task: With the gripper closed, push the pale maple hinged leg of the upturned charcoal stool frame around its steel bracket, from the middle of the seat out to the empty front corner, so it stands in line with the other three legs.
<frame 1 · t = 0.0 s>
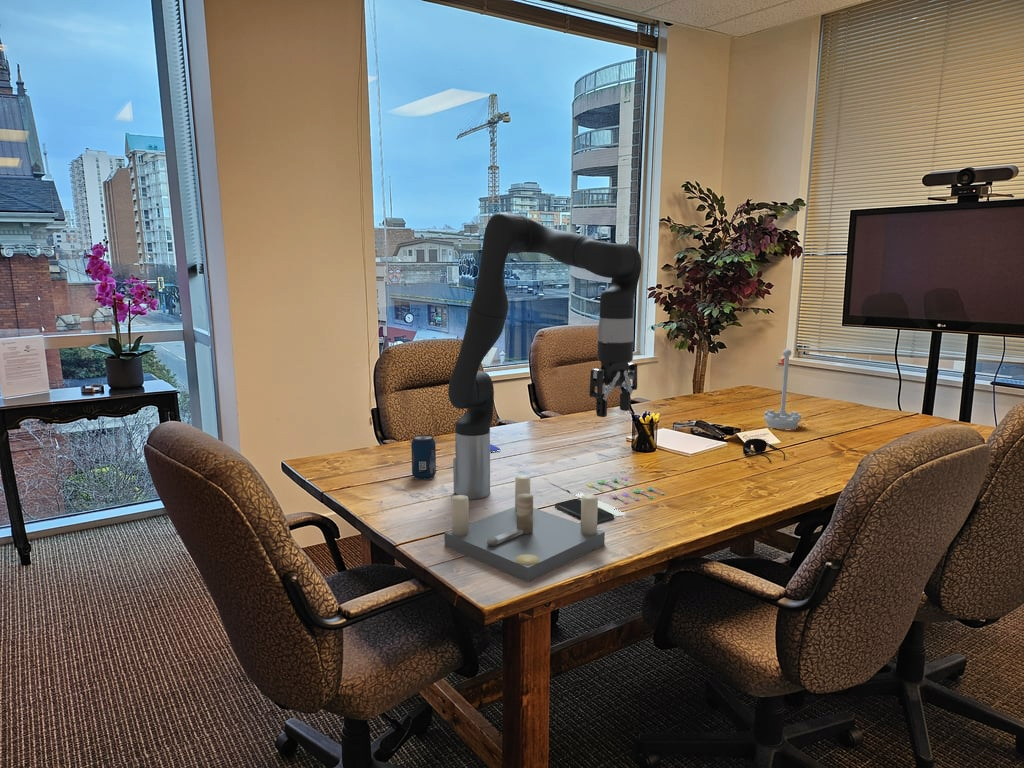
hand: (613, 413, 147), 29 cm above the table, tool pointing down, fingers open, 8 cm apart
phone: (583, 514, 169), on the table
stool frame: (524, 545, 149), on the table
soda can: (424, 477, 197), on the table
flag stand: (781, 427, 259), on the table
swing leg: (510, 519, 145), point 7 cm above the table, hinge at 90.0°
hard drive: (478, 453, 224), on the table
sunglasses: (764, 458, 218), on the table
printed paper: (624, 491, 187), on the table
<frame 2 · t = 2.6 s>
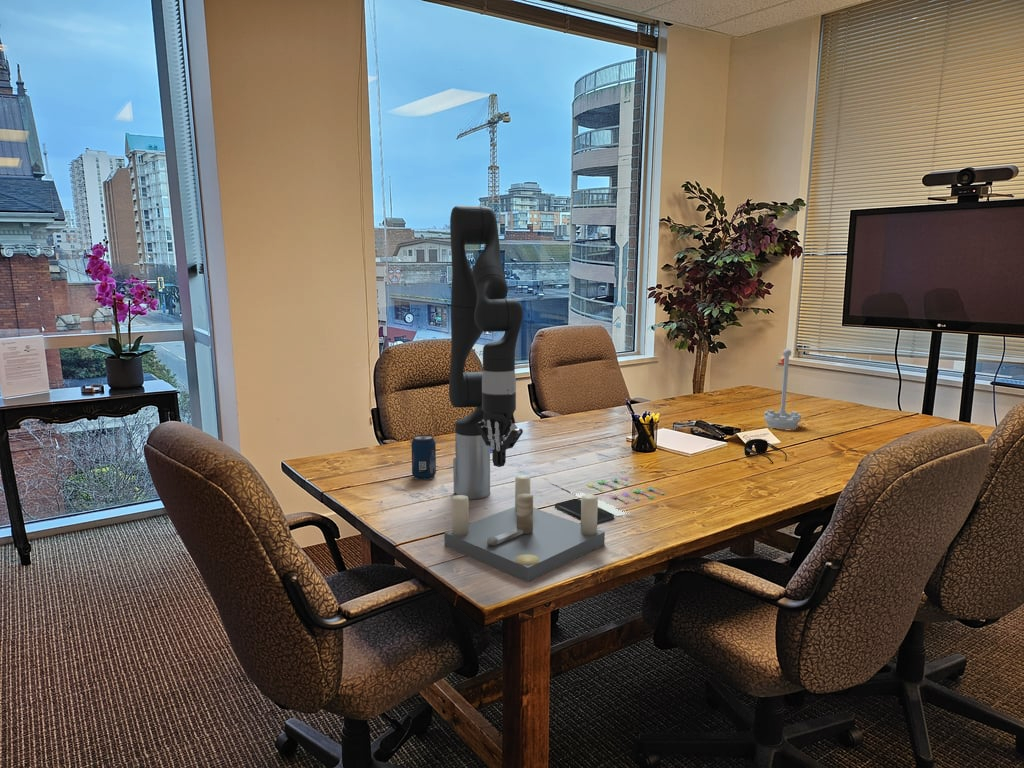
hand: (499, 465, 152), 16 cm above the table, tool pointing down, fingers closed
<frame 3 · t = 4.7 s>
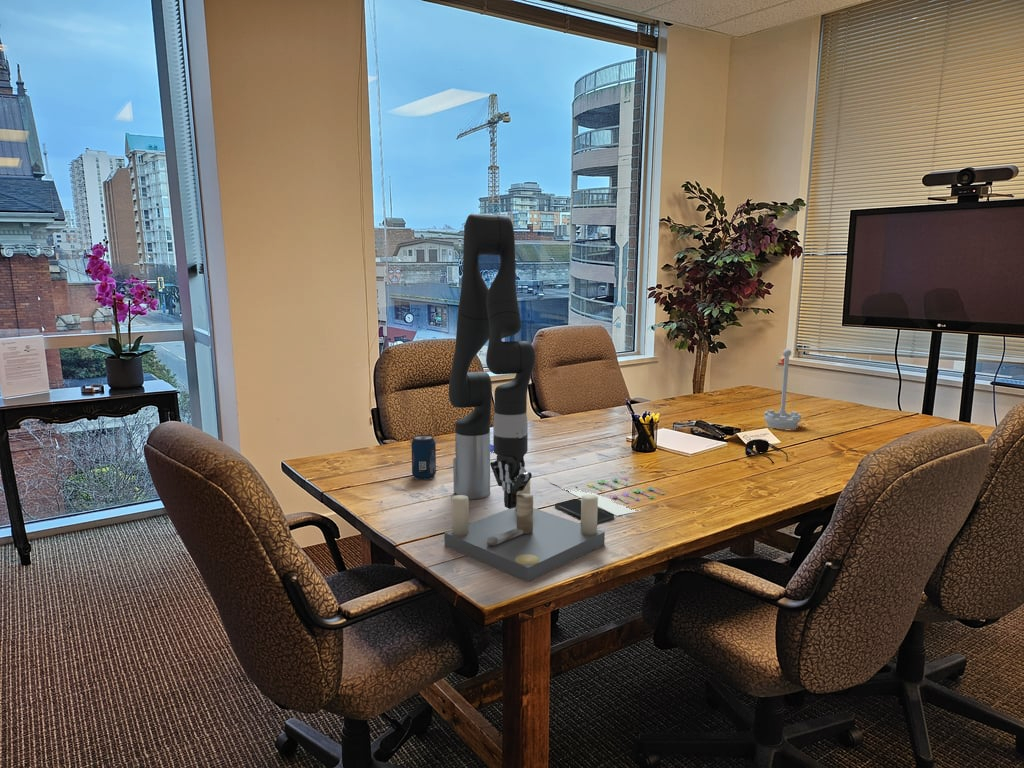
hand: (510, 507, 151), 8 cm above the table, tool pointing down, fingers closed
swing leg: (510, 519, 145), point 7 cm above the table, hinge at 90.0°, touching gripper
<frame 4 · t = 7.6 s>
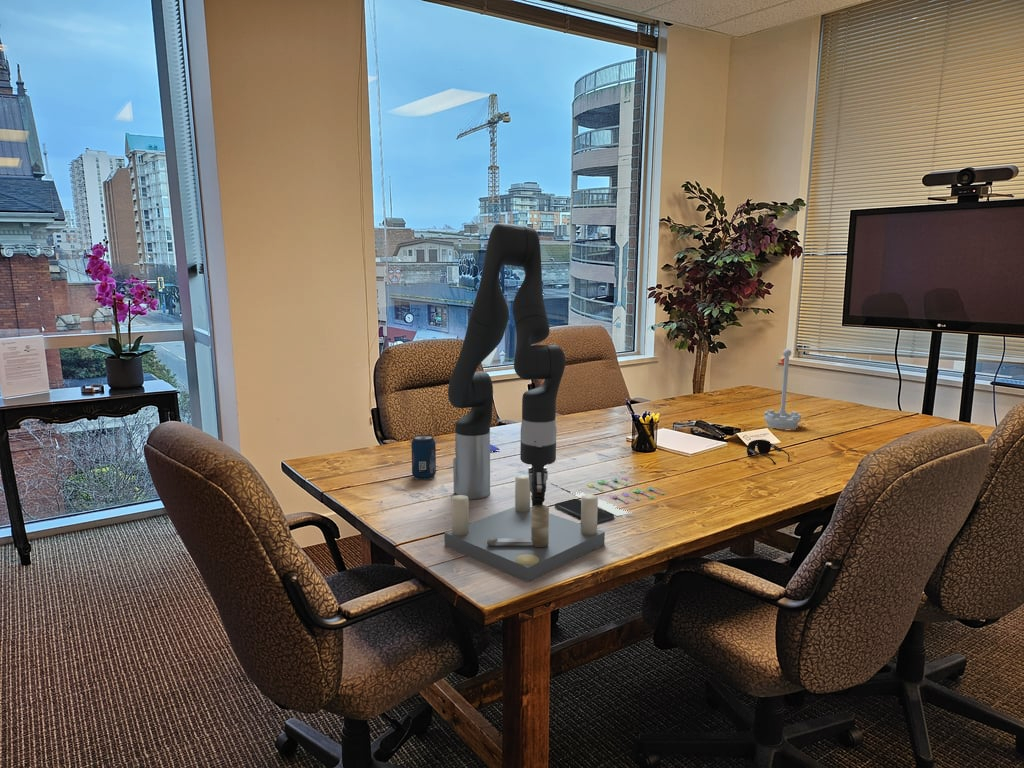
hand: (537, 516, 146), 8 cm above the table, tool pointing down, fingers closed
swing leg: (517, 525, 141), point 7 cm above the table, hinge at 44.9°, touching gripper
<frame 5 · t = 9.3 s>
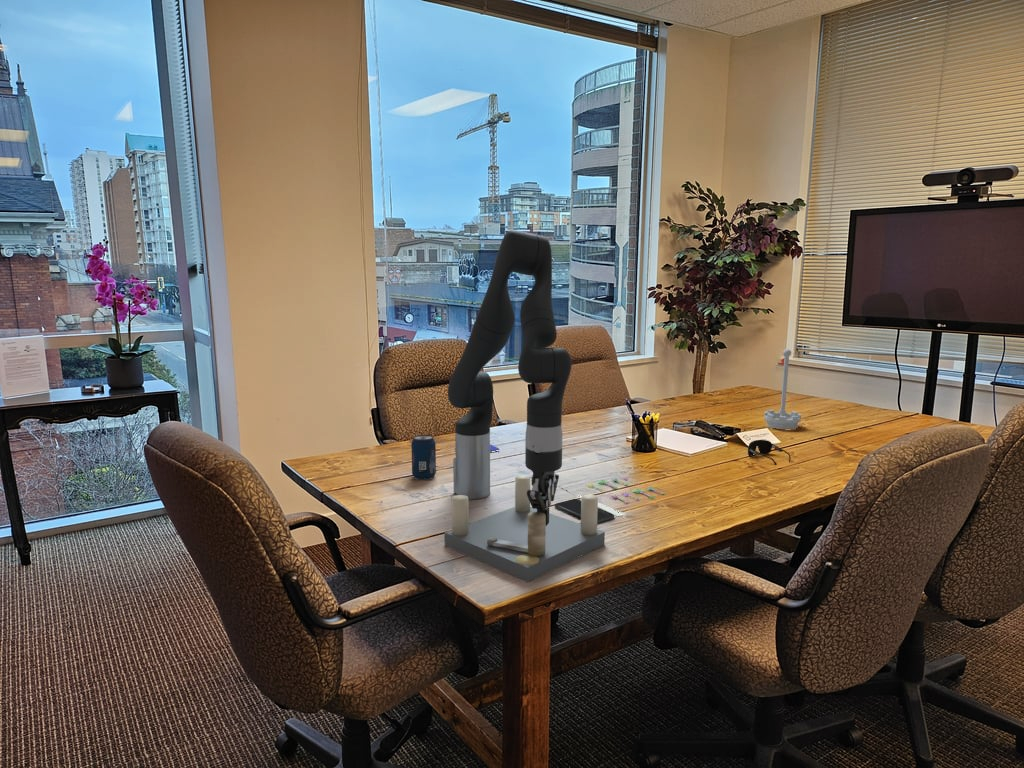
hand: (542, 524, 141), 8 cm above the table, tool pointing down, fingers closed
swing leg: (515, 530, 139), point 7 cm above the table, hinge at 19.9°, touching gripper
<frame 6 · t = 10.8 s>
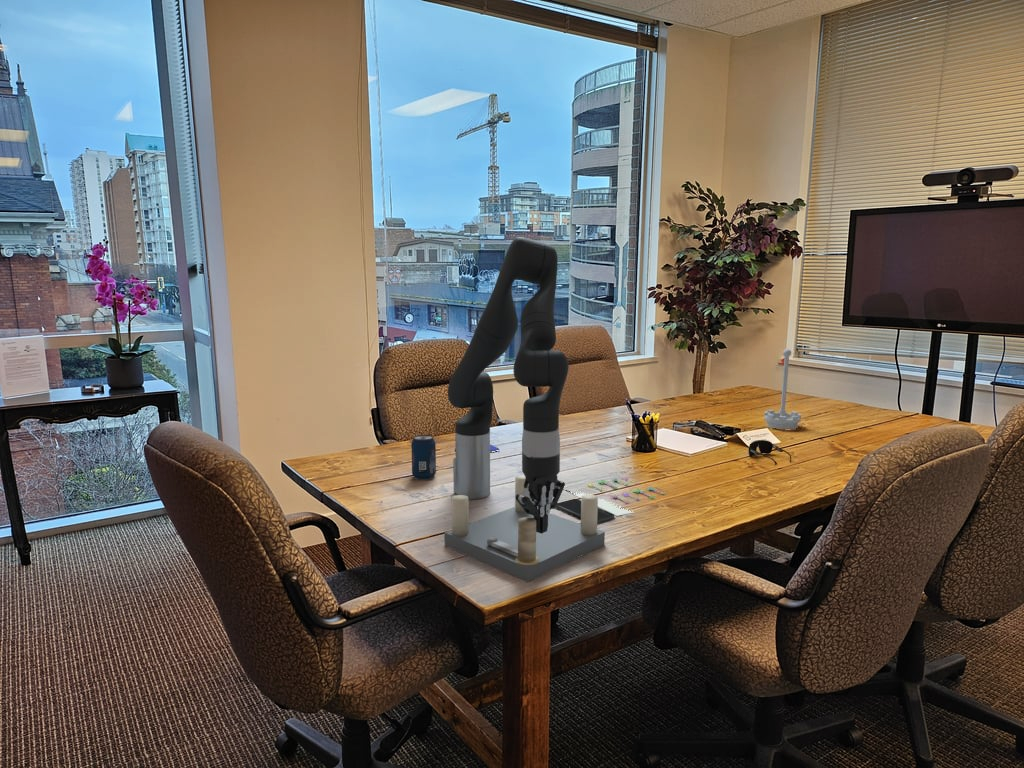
hand: (540, 531, 138), 8 cm above the table, tool pointing down, fingers closed
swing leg: (510, 533, 137), point 7 cm above the table, hinge at -0.7°, touching gripper
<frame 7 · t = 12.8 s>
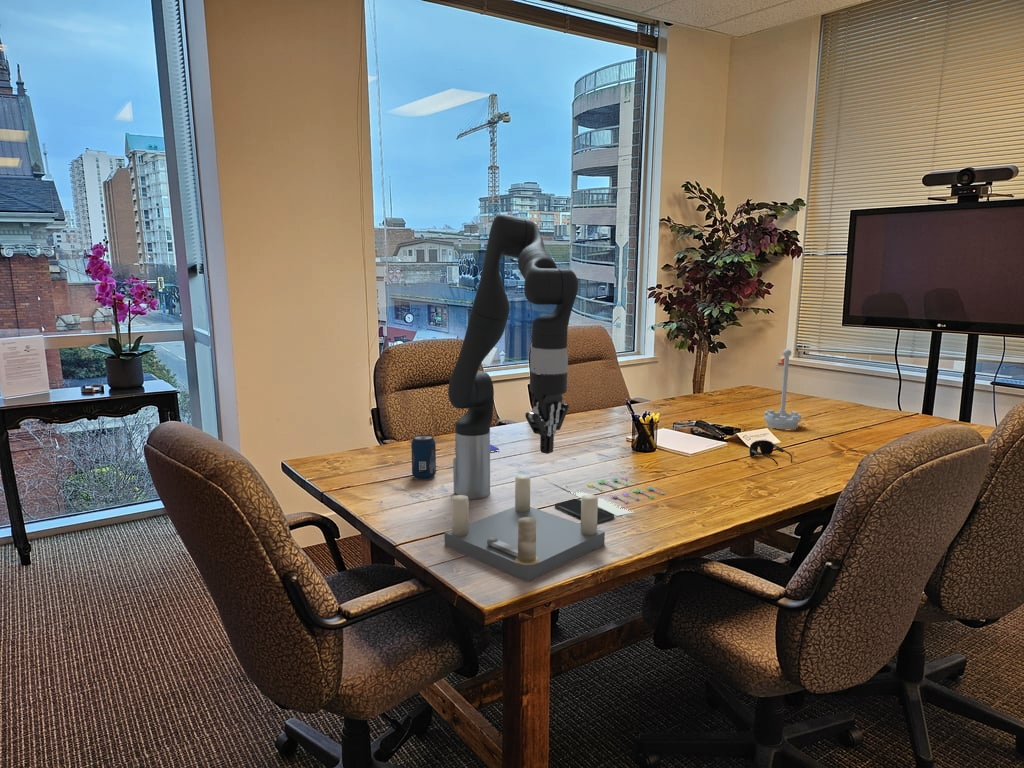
hand: (546, 452, 139), 23 cm above the table, tool pointing down, fingers closed
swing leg: (510, 533, 137), point 7 cm above the table, hinge at -0.7°
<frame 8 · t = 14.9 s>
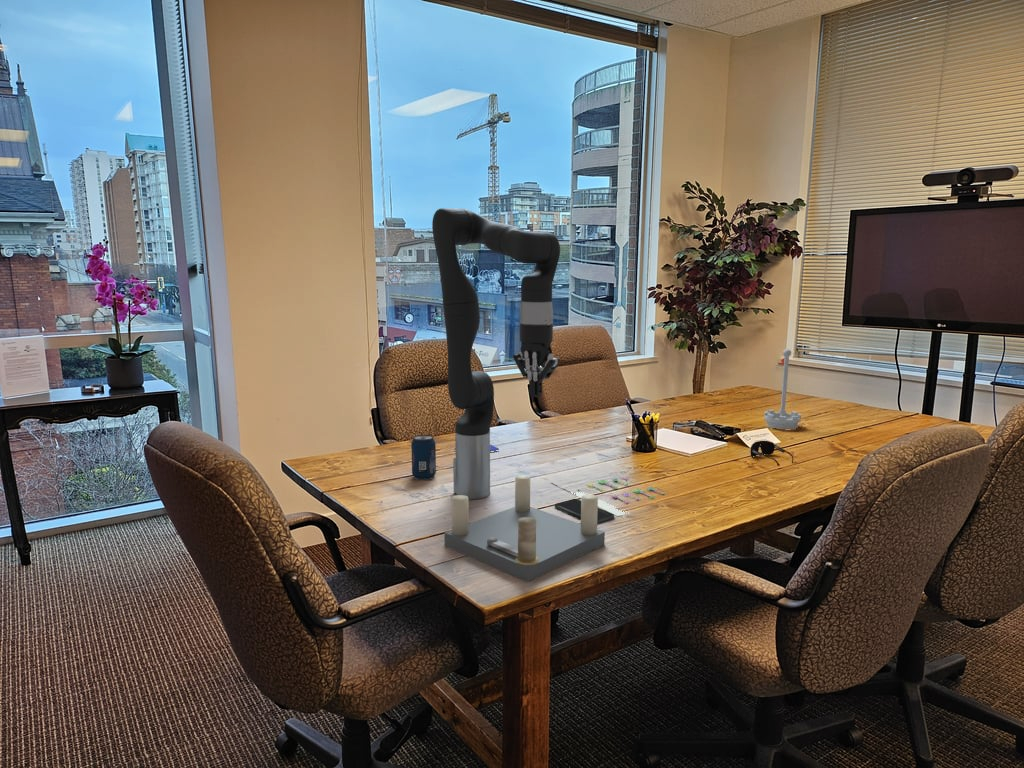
hand: (535, 396, 157), 31 cm above the table, tool pointing down, fingers closed
at the end: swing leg at -1° (first picture: +90°); phone moved 0.6 cm from its start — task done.
